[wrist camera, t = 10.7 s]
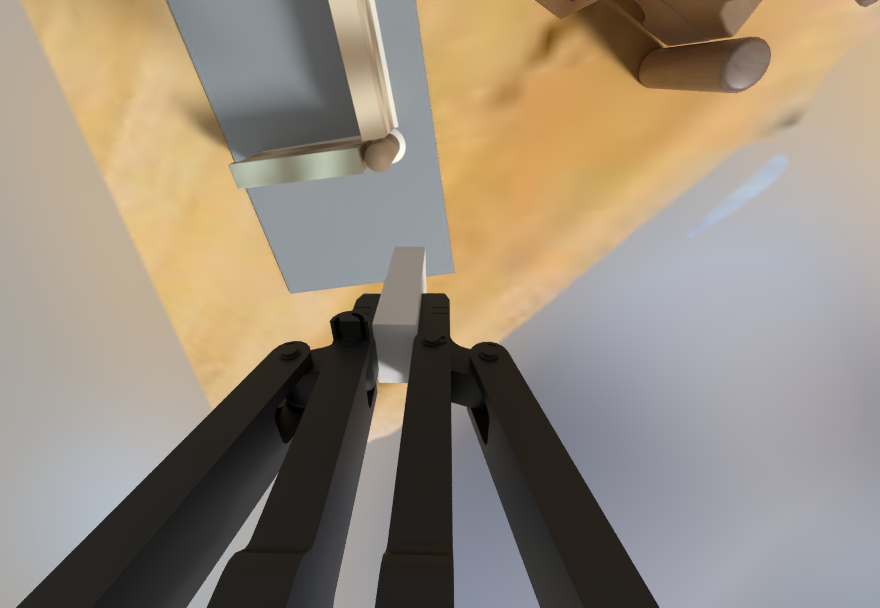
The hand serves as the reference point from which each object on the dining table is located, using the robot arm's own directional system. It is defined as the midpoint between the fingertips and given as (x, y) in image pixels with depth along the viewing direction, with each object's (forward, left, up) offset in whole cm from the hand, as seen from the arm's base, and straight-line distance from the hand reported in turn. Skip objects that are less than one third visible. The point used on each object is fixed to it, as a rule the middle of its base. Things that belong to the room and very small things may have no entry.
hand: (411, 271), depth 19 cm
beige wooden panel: (-10, -4, -26) cm, 28 cm away
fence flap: (-3, -12, -25) cm, 28 cm away
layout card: (-3, -10, -26) cm, 28 cm away
